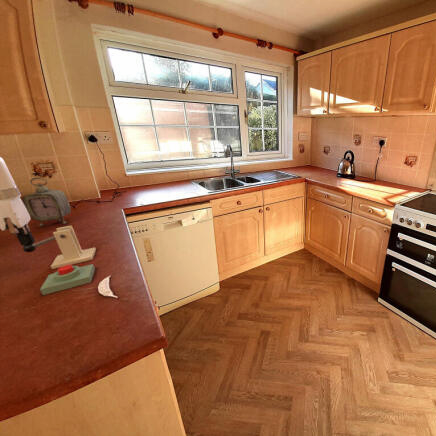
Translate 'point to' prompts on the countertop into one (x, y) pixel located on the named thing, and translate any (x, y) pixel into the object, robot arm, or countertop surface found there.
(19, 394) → the countertop surface
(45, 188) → the tabletop clock
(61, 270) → the button
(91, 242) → the countertop surface
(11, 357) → the countertop surface
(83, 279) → the button box
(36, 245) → the lever
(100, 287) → the pea pod
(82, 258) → the bracket
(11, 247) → the countertop surface
